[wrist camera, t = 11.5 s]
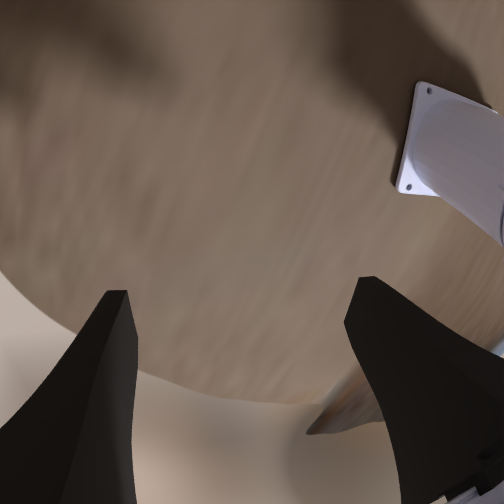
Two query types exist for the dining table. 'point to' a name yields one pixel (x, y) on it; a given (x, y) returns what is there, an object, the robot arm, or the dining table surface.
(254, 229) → the dining table surface
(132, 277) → the dining table surface
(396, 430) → the robot arm
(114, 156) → the dining table surface
